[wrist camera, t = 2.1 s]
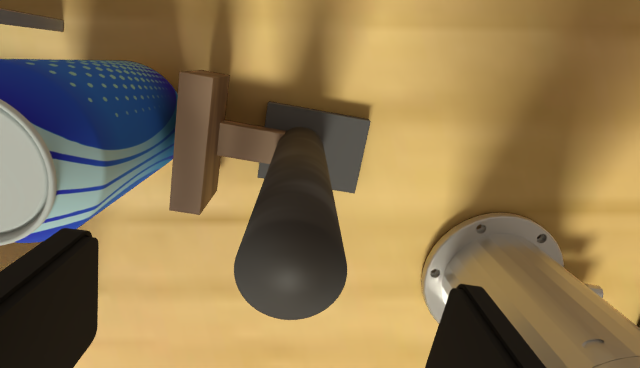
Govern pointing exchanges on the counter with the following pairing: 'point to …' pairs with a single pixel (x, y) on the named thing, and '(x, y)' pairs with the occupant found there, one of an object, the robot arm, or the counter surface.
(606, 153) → the counter surface
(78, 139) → the beer can
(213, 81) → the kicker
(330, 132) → the gray rectangular plate
